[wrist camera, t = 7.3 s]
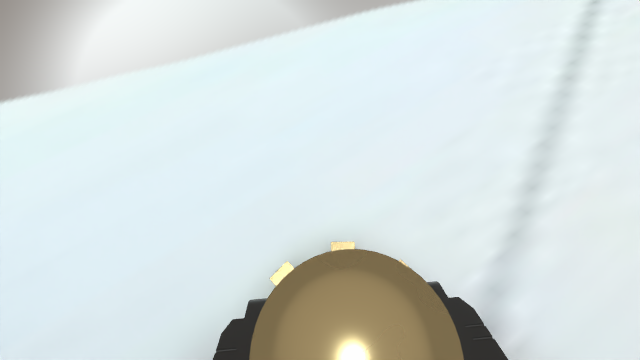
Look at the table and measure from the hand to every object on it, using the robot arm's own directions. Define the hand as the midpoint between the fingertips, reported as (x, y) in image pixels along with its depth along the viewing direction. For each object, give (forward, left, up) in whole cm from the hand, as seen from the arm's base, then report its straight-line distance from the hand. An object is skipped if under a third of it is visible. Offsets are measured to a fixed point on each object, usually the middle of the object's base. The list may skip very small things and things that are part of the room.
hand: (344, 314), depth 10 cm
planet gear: (0, -1, -4) cm, 4 cm away
